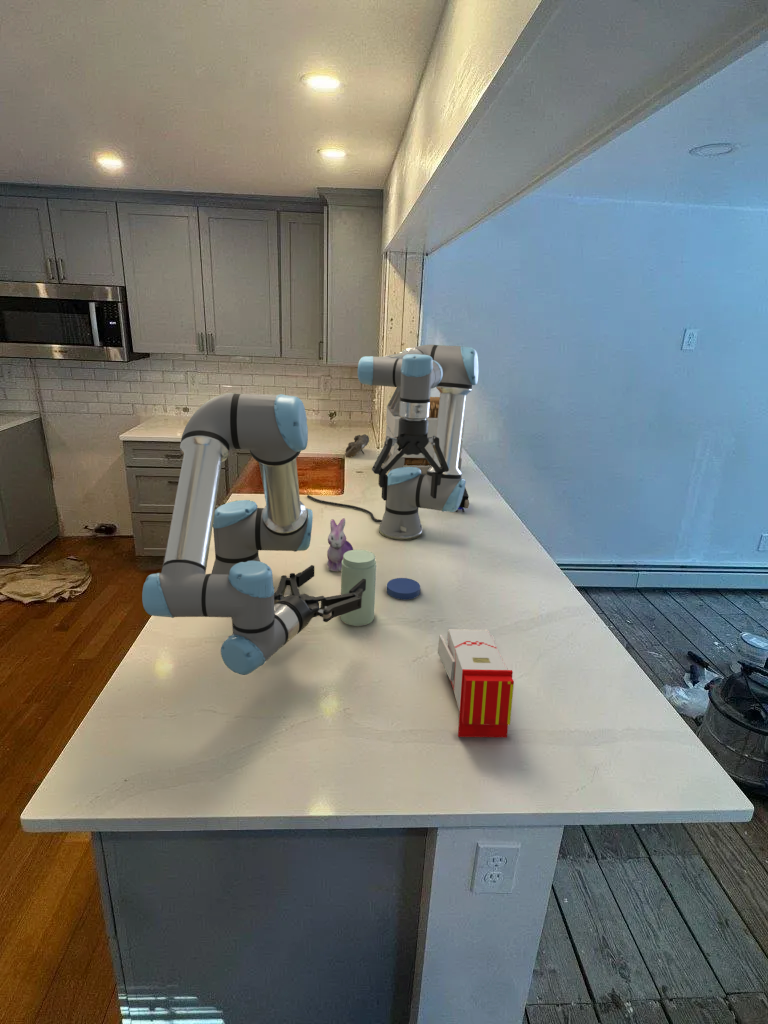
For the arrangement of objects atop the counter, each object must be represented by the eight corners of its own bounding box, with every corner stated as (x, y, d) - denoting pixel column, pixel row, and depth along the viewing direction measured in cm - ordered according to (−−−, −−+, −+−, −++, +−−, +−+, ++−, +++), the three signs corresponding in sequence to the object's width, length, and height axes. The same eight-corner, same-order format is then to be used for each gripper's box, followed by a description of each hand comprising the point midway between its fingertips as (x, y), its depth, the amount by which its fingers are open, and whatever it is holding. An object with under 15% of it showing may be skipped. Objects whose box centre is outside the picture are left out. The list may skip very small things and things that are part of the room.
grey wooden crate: (382, 463, 289) (386, 382, 275) (445, 464, 293) (451, 384, 279) (390, 482, 257) (394, 392, 243) (460, 483, 261) (468, 394, 247)
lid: (423, 587, 162) (423, 581, 162) (415, 602, 154) (415, 595, 153) (392, 581, 165) (392, 575, 164) (382, 596, 156) (382, 589, 156)
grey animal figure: (345, 440, 315) (366, 425, 310) (356, 453, 318) (377, 439, 313) (338, 454, 296) (361, 438, 291) (350, 468, 298) (372, 452, 293)
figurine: (332, 575, 167) (332, 527, 162) (319, 561, 175) (319, 516, 170) (361, 569, 171) (362, 523, 166) (347, 556, 179) (348, 512, 174)
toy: (488, 613, 130) (523, 677, 101) (484, 667, 133) (517, 744, 104) (435, 612, 130) (455, 676, 101) (432, 666, 133) (451, 743, 103)
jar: (349, 629, 140) (351, 565, 134) (335, 613, 147) (335, 552, 141) (380, 621, 144) (382, 559, 138) (364, 606, 151) (366, 546, 145)
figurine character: (469, 517, 223) (463, 501, 236) (471, 500, 219) (465, 484, 233) (452, 516, 222) (447, 500, 236) (454, 499, 219) (449, 483, 232)
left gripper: (235, 619, 119) (293, 579, 137) (339, 653, 109) (386, 605, 127) (234, 587, 116) (292, 550, 134) (340, 619, 107) (387, 575, 125)
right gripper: (369, 421, 136) (366, 504, 144) (465, 420, 143) (458, 500, 150) (362, 415, 143) (359, 495, 150) (454, 415, 149) (448, 491, 157)
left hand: (338, 577), depth 131 cm, fingers open, 13 cm apart
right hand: (408, 498), depth 150 cm, fingers open, 13 cm apart
